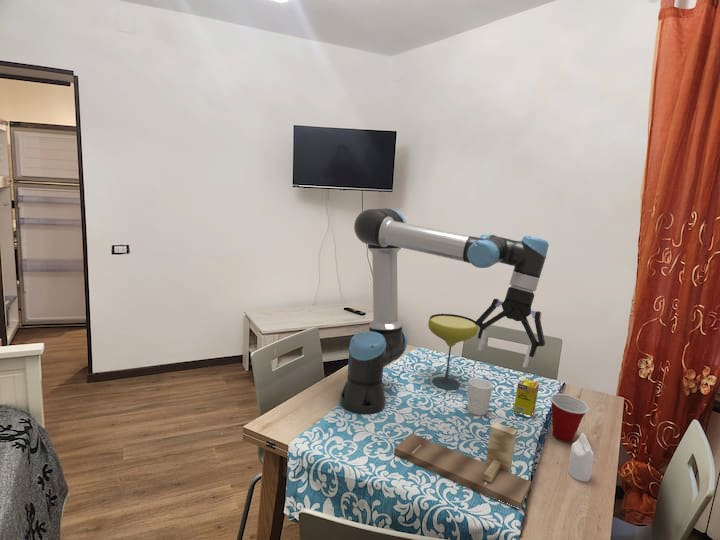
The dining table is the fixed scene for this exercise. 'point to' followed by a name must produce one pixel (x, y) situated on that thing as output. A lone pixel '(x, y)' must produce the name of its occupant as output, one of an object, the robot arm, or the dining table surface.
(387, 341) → the robot arm
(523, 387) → the supplement box
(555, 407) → the plastic cup
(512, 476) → the walnut board
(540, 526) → the dining table surface
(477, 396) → the white cup
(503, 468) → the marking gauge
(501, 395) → the dining table surface
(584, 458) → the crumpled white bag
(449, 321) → the cocktail glass
